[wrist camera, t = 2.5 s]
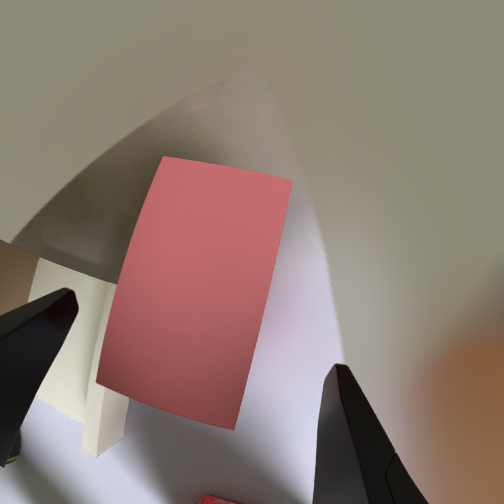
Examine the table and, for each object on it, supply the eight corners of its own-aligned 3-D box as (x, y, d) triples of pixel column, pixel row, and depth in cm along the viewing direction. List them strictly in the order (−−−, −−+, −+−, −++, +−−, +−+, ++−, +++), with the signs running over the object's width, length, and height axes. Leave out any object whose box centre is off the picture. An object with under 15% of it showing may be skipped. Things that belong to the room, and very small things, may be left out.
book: (243, 372, 16) (233, 430, 6) (178, 354, 16) (95, 382, 6) (269, 260, 18) (292, 180, 8) (207, 245, 18) (163, 155, 8)
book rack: (123, 436, 14) (47, 492, 6) (16, 375, 15) (-66, 380, 6) (152, 296, 17) (71, 266, 8) (39, 257, 17) (-44, 217, 9)
